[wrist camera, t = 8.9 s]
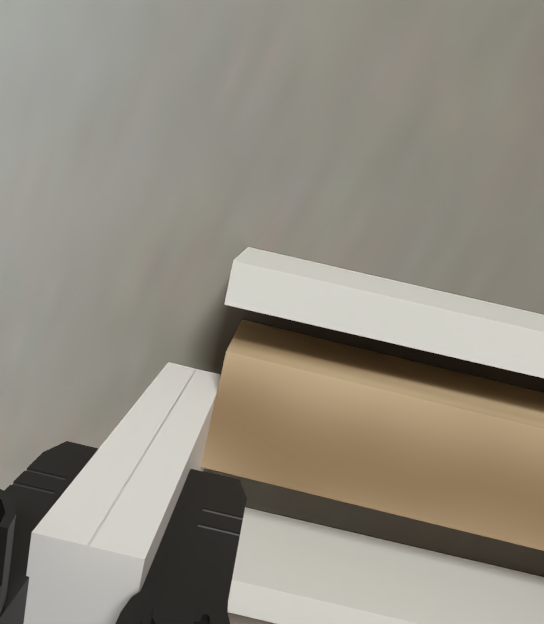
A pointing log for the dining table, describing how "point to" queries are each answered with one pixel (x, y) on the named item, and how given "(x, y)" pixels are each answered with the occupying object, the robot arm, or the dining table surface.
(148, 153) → the dining table surface
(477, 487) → the rod
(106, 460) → the robot arm
